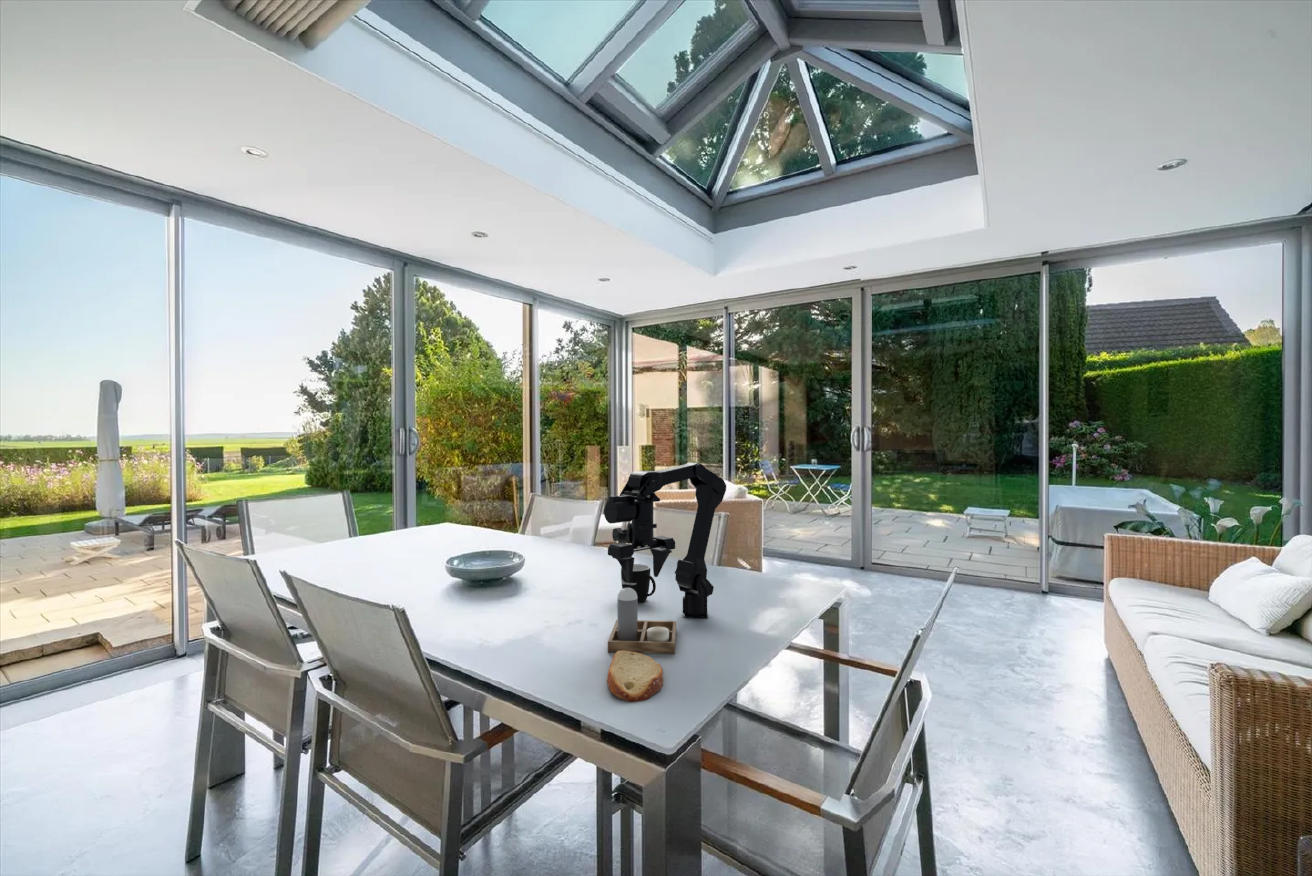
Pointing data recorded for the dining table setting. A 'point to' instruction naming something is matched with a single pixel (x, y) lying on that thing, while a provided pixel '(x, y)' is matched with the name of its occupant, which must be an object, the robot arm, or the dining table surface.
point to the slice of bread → (634, 676)
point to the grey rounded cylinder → (627, 615)
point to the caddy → (647, 638)
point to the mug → (639, 581)
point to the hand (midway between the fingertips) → (642, 579)
